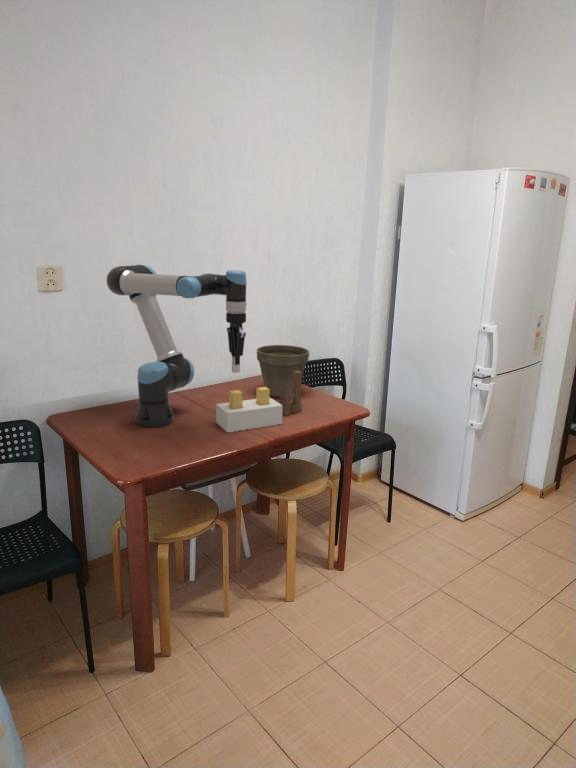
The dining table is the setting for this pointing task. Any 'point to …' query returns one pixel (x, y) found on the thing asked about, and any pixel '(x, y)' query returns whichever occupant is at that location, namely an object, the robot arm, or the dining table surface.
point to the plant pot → (280, 365)
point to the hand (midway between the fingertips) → (235, 371)
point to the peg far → (262, 396)
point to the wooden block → (291, 395)
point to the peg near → (235, 399)
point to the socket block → (248, 415)
